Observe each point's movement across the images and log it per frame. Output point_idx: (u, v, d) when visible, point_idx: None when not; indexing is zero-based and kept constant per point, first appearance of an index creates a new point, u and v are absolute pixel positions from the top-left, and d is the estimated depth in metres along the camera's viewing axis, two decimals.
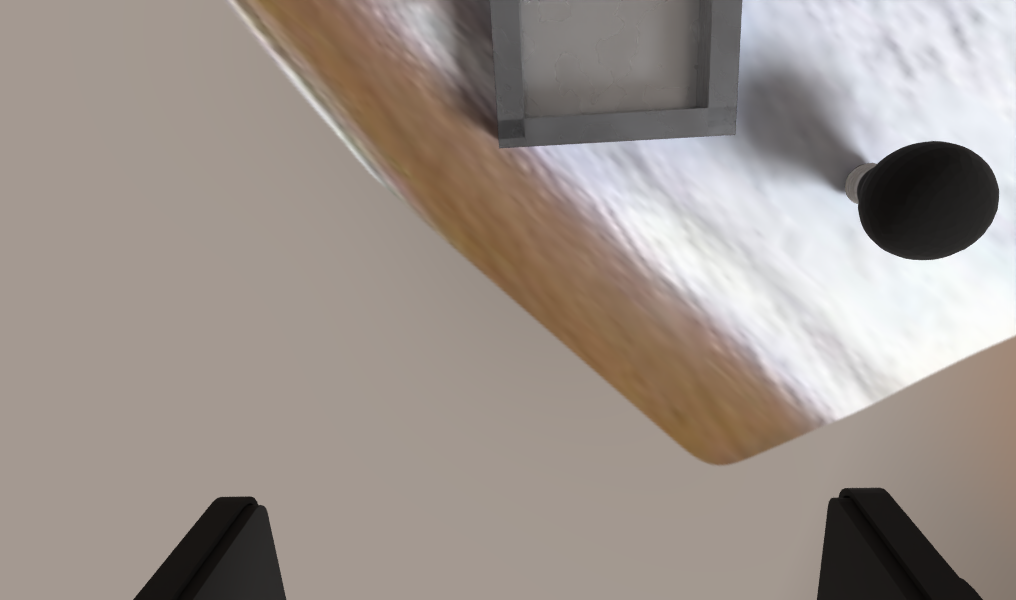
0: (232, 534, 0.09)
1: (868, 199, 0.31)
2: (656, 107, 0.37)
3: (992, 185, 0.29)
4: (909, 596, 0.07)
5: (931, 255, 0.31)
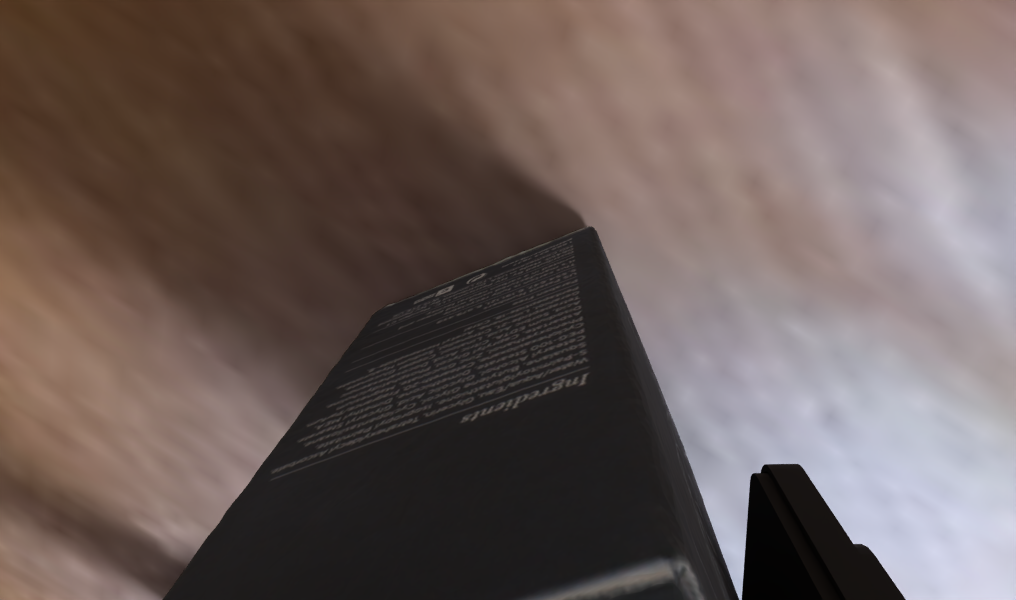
0: None
1: None
2: None
3: None
4: (804, 557, 0.08)
5: None
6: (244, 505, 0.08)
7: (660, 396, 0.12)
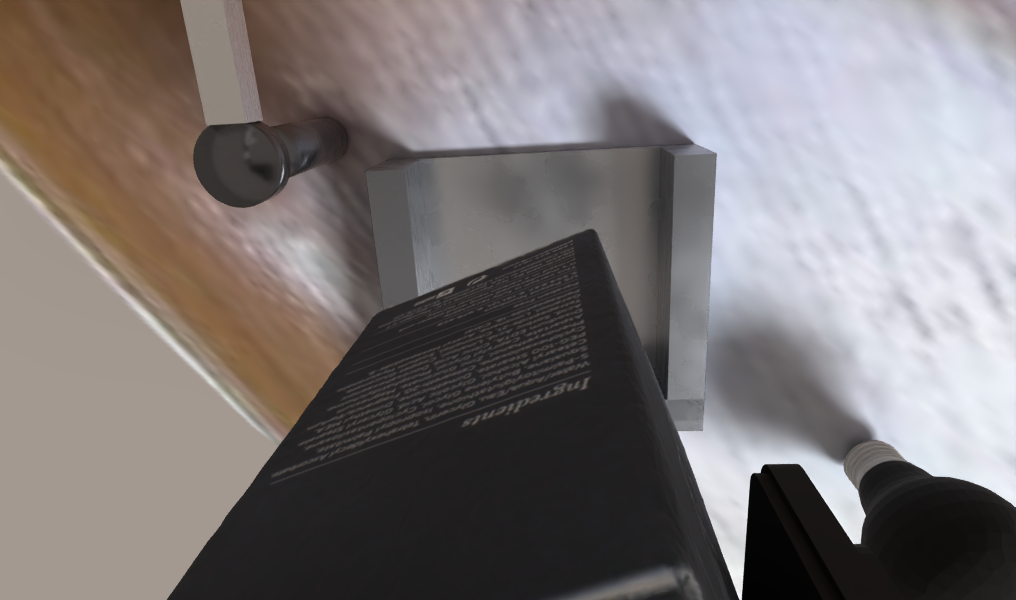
0: None
1: None
2: None
3: None
4: (803, 557, 0.08)
5: None
6: (244, 509, 0.08)
7: (661, 399, 0.12)
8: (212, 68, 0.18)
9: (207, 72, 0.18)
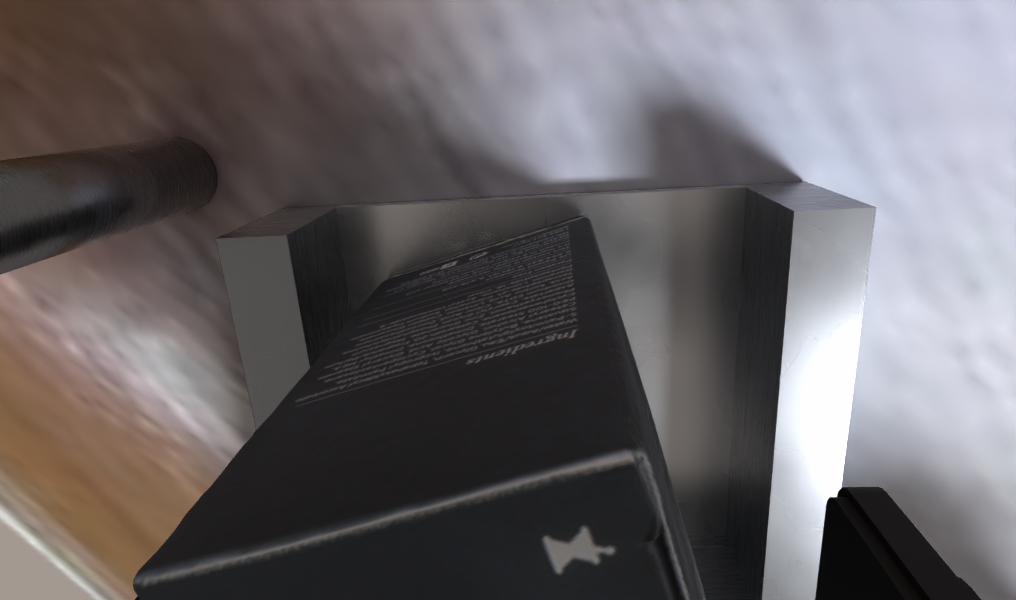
0: None
1: None
2: None
3: None
4: (906, 595, 0.08)
5: None
6: (273, 424, 0.09)
7: (637, 371, 0.13)
8: None
9: None
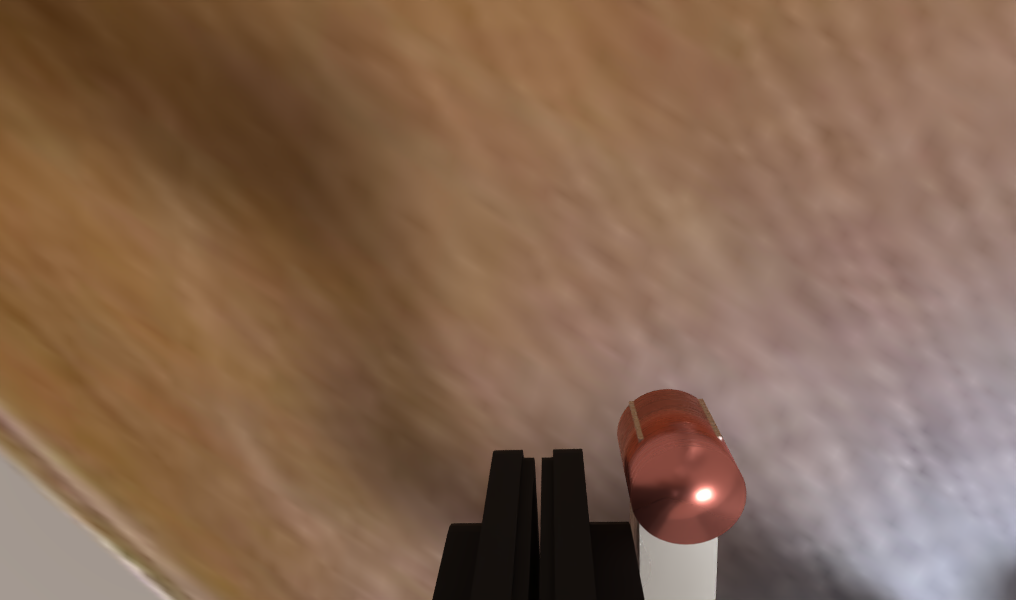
0: (526, 481, 0.10)
1: None
2: None
3: None
4: (543, 531, 0.09)
5: None
6: None
7: None
8: None
9: None
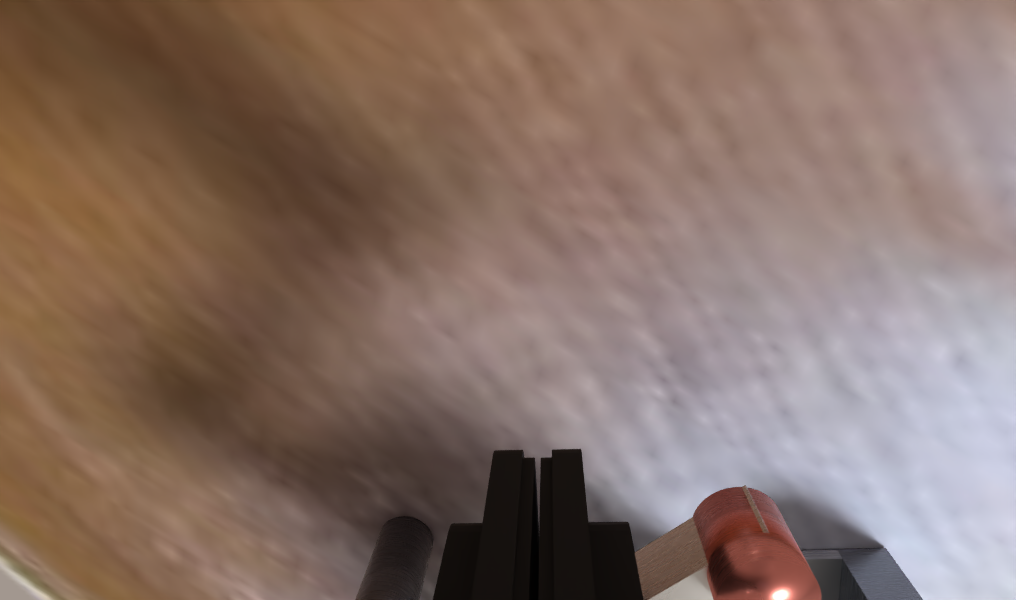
0: (527, 481, 0.10)
1: None
2: None
3: None
4: (542, 531, 0.09)
5: None
6: None
7: None
8: None
9: None
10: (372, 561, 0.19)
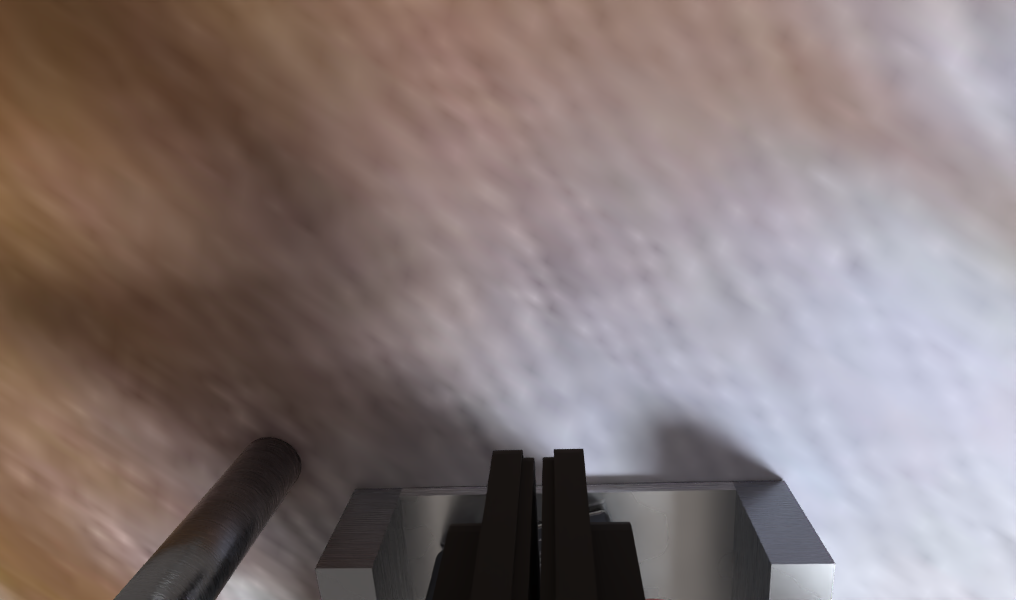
0: (526, 481, 0.10)
1: None
2: None
3: None
4: (543, 530, 0.09)
5: None
6: None
7: None
8: None
9: None
10: (221, 477, 0.18)
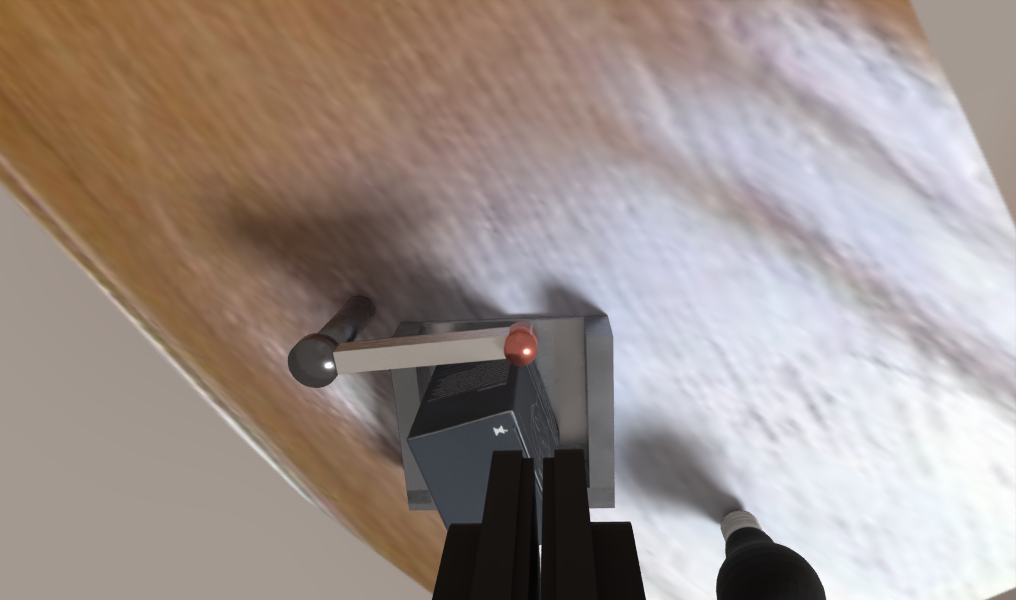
0: (526, 481, 0.10)
1: (719, 595, 0.36)
2: None
3: None
4: (544, 531, 0.09)
5: None
6: (423, 407, 0.33)
7: (537, 390, 0.37)
8: (364, 359, 0.31)
9: (362, 356, 0.31)
10: None
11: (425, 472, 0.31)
